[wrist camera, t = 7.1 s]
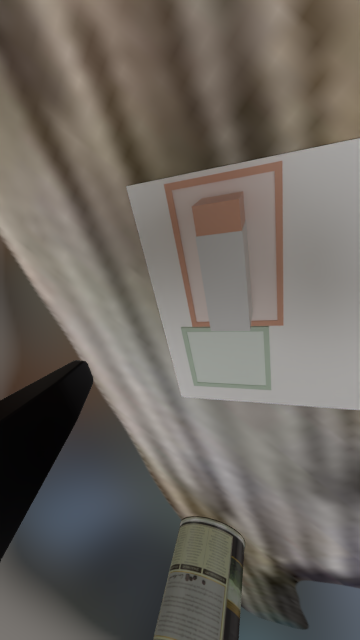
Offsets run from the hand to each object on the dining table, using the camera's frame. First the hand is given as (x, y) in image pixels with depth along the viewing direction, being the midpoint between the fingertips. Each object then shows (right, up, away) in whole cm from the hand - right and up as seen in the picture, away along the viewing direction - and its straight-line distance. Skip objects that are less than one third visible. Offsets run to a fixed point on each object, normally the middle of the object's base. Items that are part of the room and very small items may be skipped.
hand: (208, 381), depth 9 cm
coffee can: (+4, -31, +34) cm, 46 cm away
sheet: (+5, +3, +11) cm, 13 cm away
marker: (+2, +6, +9) cm, 12 cm away
